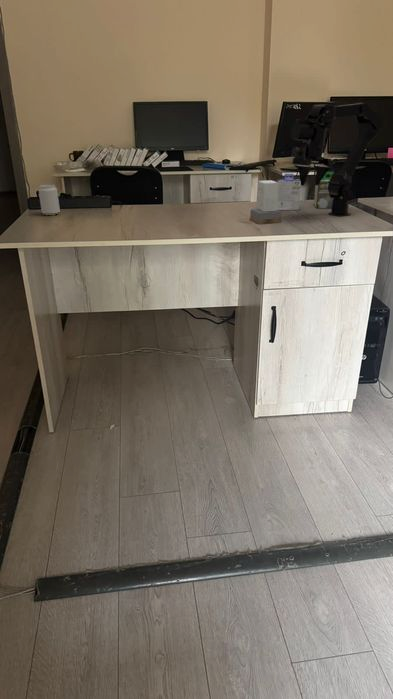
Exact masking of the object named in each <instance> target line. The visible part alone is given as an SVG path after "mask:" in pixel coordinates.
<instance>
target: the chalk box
mask: <svg viewBox="0 0 393 699" xmlns="http://www.w3.org/2000/svg"><path fill="white" fill-rule="evenodd" d="M333 173H335V172H334V171H327V172H326V174H325V175H324V177H323V178H322V180H321V181H320V183H319V184H318V185H315V184H314V185H315V188H314V204H313V205H314V207H315V208H316V209H332V203H333V199H334V198H330V195H329V192H328V184H329V183H328V182H329V181H330V179H331V176H332V175H333ZM327 175H330V176H329V177H326V176H327Z"/></svg>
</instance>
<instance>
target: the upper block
mask: <svg viewBox="0 0 393 699" xmlns="http://www.w3.org/2000/svg"><path fill="white" fill-rule="evenodd" d="M282 211H283V210H277V211H268V212H263V211H261V210H259V209H258V208H252V209H250V216H252V217H254V218H256V219H259V220H265V219H277V218H281V219H282ZM250 216H249V217H250Z"/></svg>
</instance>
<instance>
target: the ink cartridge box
mask: <svg viewBox="0 0 393 699" xmlns="http://www.w3.org/2000/svg"><path fill="white" fill-rule="evenodd" d="M288 176H289V177H288ZM276 182H277V183H278V198H277V210H279V211H299V210H300V201H301V188H302V187H301V186H302V185H301V181H300V178H297V179H295V177H294V173H284V179H277V180H276Z"/></svg>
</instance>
